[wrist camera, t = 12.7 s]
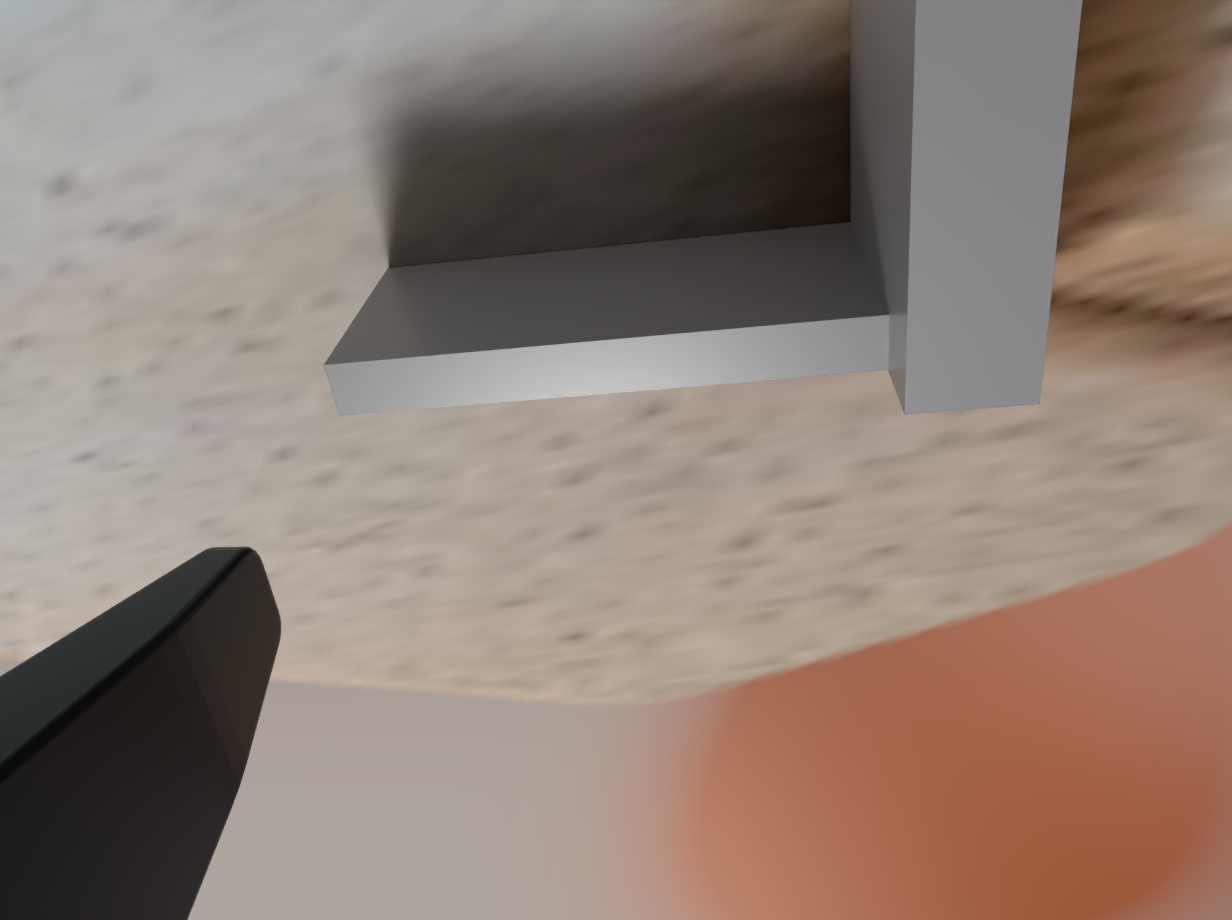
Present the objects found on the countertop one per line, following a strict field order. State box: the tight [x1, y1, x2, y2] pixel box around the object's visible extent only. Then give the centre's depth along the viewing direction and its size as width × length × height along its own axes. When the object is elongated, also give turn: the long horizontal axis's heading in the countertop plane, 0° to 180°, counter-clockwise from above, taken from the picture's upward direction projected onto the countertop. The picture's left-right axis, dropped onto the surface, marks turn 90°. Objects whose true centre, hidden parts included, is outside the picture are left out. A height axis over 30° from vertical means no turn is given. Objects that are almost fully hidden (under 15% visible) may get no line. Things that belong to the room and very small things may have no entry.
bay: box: [324, 0, 1082, 416], centre depth 16 cm, size 12×11×6 cm
